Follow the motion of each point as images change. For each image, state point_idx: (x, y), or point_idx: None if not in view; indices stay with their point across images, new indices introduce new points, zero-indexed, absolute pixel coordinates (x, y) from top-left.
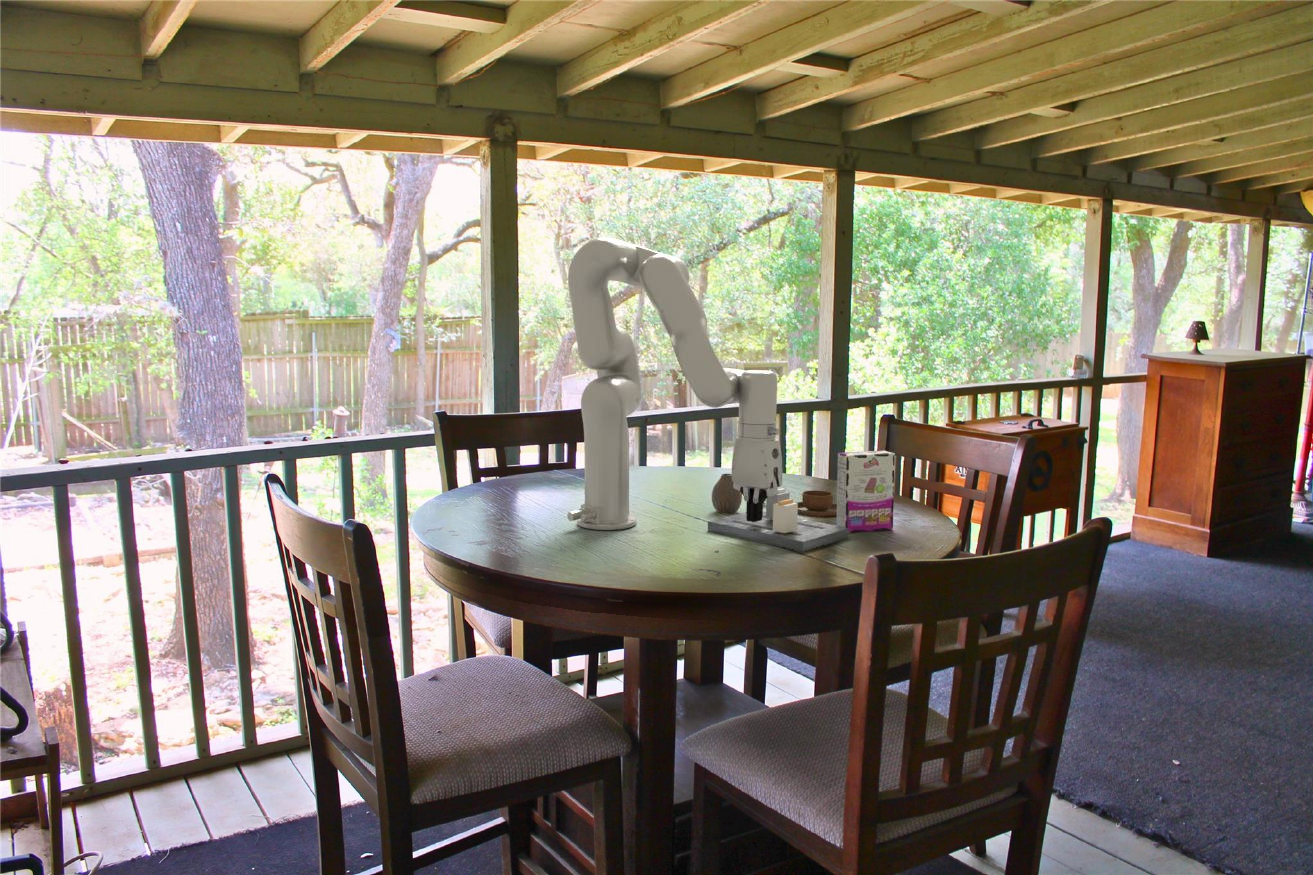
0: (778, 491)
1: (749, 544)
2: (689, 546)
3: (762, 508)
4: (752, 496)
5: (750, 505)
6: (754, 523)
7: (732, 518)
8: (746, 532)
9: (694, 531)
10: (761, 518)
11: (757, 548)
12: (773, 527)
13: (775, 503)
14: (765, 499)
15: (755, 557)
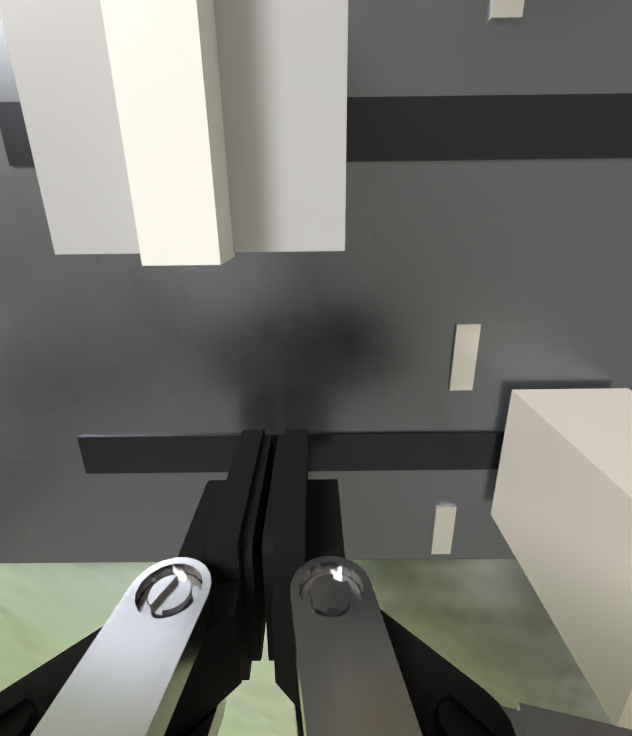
0: (211, 50)
1: (396, 571)
2: (231, 727)
3: (342, 529)
4: (209, 674)
5: (263, 633)
6: (238, 408)
7: (9, 397)
8: None
9: (15, 568)
10: (307, 438)
11: (470, 596)
12: (505, 529)
13: (626, 705)
14: (371, 591)
15: (540, 686)
